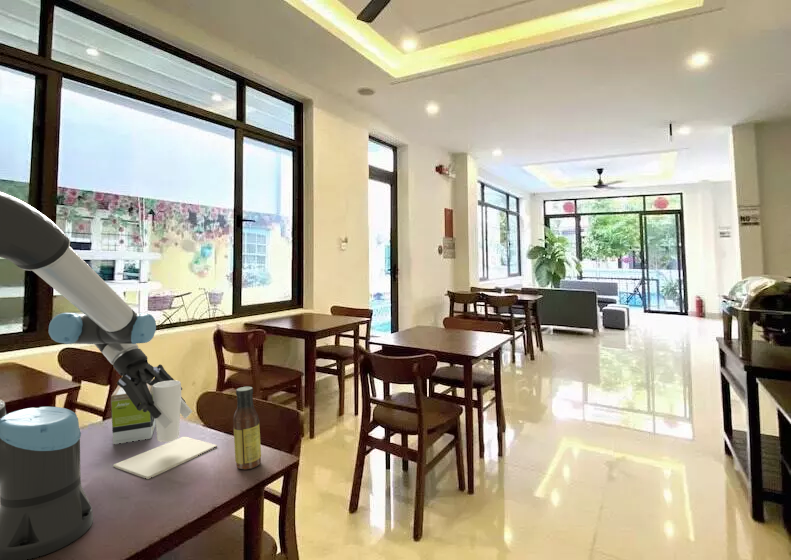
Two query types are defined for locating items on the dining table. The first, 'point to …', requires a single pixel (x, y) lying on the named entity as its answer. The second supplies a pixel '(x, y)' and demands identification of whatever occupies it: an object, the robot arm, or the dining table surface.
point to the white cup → (168, 408)
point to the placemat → (164, 457)
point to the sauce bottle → (246, 431)
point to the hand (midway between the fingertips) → (179, 419)
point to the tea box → (130, 419)
